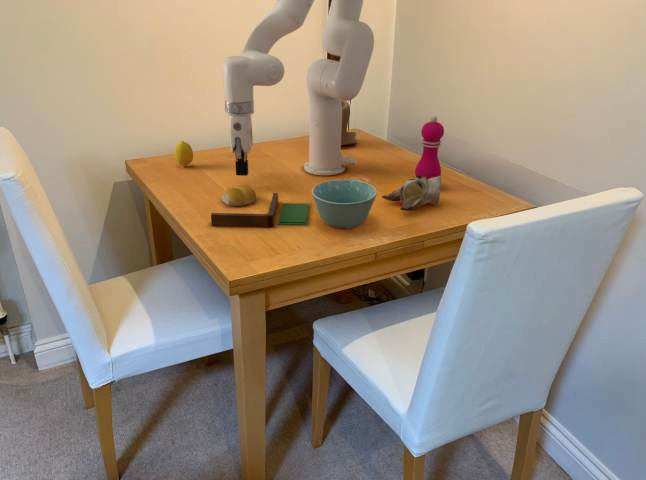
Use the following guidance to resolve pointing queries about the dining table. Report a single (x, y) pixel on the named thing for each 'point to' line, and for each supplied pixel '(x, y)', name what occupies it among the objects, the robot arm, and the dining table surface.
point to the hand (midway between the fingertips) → (242, 174)
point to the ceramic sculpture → (417, 192)
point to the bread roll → (239, 196)
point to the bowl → (343, 202)
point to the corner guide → (247, 217)
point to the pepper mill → (430, 150)
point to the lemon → (183, 153)
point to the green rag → (293, 214)
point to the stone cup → (346, 136)
